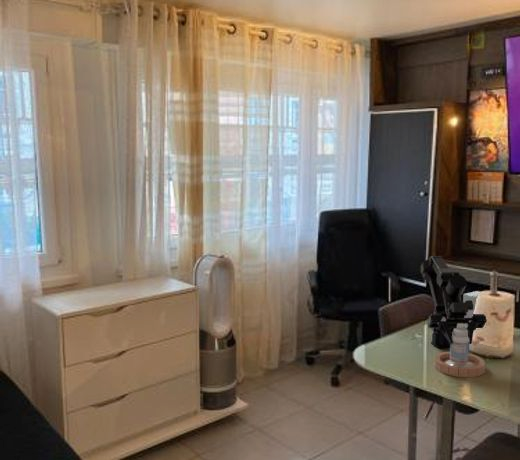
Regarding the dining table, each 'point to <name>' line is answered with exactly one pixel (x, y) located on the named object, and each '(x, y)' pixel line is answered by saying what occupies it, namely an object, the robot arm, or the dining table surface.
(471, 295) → the skincare box
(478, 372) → the round dish
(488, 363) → the dining table surface
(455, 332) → the pill bottle
